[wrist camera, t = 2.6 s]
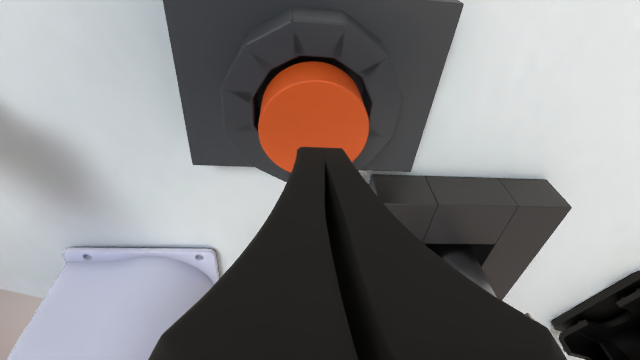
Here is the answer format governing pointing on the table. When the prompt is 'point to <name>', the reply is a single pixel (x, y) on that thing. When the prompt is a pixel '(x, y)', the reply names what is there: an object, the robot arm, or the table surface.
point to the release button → (311, 113)
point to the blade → (464, 263)
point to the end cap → (604, 324)
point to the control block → (307, 46)
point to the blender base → (478, 217)
